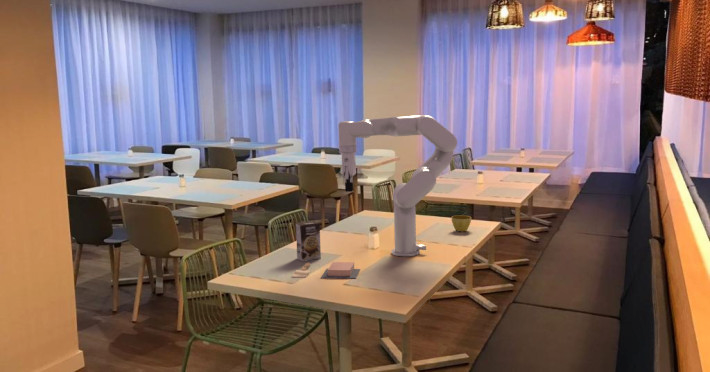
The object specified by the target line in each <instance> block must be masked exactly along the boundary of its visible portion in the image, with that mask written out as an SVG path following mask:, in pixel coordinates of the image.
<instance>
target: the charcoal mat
mask: <svg viewBox="0 0 710 372" xmlns="http://www.w3.org/2000/svg"><path fill="white" fill-rule="evenodd" d="M328 269H329V268H326V269H325V270H324V271H323V273H322V274H321V277H320V279H349V280H350V279H354V280H355V279H357V277H358V275H359V273H360V271H361V268H354V270H353V272H352V274H351V276H328Z"/></svg>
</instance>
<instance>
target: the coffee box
mask: <svg viewBox="0 0 710 372" xmlns="http://www.w3.org/2000/svg"><path fill="white" fill-rule="evenodd" d="M320 227H321V226H320V222H318V221H315V220H312V221H303V222H295V231H296V233H295V234H296V237H295V238H296V258H297V260H300V261H301V262H307V261H314V260H320V259H321V258H322V253H321V228H320ZM313 259H314V260H313Z"/></svg>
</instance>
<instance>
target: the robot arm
mask: <svg viewBox="0 0 710 372" xmlns="http://www.w3.org/2000/svg"><path fill="white" fill-rule="evenodd" d="M337 126H338V146H339V147H338V149H339V150H338V151H339V152H338V153H339V154H341V173H342V176H343V177H344V181H345V182H344V187H345V188H344V189H345V192H353V191H354V182H353V176H355V175H356V174H357V164H356V153H358V152H357V151H358V150H357V138H361V139H368V138H370V137H374V136H391V137H409V136H421V135H422V137H424V138H425V139H426V140H428V141H429V142H430V143H431V144H433V146H434V147H435V148H434V151H433V153H432V155H431V156H430V157H429V158H428V159H427V160H426V161H425V162H423V163H422V164H421V165H420V166H419V167H418V168H417V169H415V170H414V171H413V173H412V174H411V179H409V181H407V182H402V183H399V184H397V185H396V186H395V188H394V189H393V193H392V194H393V195H392V196H393V197H392V199H393V200H392V201H393V218H394V219H393V221H394V222H393V223H394V226H393V227H394V231H393V232H394V248H393V249H391V252H390V253H391V255H393V256H397V257H405V258H407V257H414V256H415V257H416V256H418V255H420V254H421V253H420V252H421V251H420V250H422V251H426V250H427V245H424V244H418V241H417V232H416V231H417V228H416V227H417V226H416V225H417V224H416V222H417V220H416V218H417V216H416V215H417V214H416V211H417V210H416V205H417V204H418V203H419V202H420V201H422V199H424V198H425V197H426V196H427V195H428V194H429V193H430V192H431V191H432V190H433V189H434V188H435V186H436V183H437V178H439V176H440V175H441V174H442V173H443V172H444V171H445V170H446V169H447V168H448V166H450V164H451V163H452V160H453V157H454V154H455V153H454V151H455V150H456V148H457V145H458V139H457V137H456V135H454V134H453V133H452V132H451V131H450V130H449V129H447V128H446V127H444V125H442V124H441V123H440V122H439V121H438V120H437V119H435V118H434V117H433V116H430V115H428V114H420V115H419V114H417V115H405V116H402V115H401V116H392V117H385V118H383V117H382V118H369V119H362V120H360V121H352V120H351V121H350V120H344V121H340V122H338V125H337Z"/></svg>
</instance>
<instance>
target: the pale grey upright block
mask: <svg viewBox="0 0 710 372" xmlns="http://www.w3.org/2000/svg"><path fill="white" fill-rule="evenodd" d="M327 269H328V276H351V274H352V272H353V270H354V269H355V262H354V261H352V262H351V261H350V262H348V261H347V262H346V261H343V262H341V261H340V262H339V261H332V262H331V264H330V266H329V267H328V268H327Z"/></svg>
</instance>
